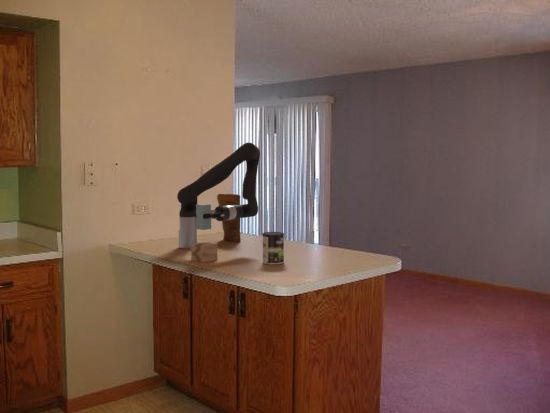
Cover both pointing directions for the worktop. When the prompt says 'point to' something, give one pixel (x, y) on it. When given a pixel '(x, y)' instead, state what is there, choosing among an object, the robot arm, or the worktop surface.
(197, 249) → the block
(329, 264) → the worktop surface
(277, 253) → the coffee can
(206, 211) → the post
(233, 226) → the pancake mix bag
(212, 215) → the robot arm
